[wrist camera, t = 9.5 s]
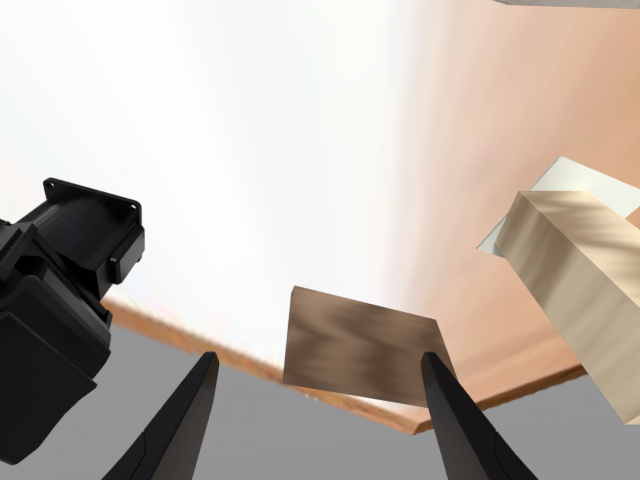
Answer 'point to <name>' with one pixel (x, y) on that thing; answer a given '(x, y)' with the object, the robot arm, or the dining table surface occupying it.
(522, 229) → the wooden block
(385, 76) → the dining table surface
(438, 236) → the dining table surface
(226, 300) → the dining table surface
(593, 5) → the milk
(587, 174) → the mat
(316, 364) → the screen
